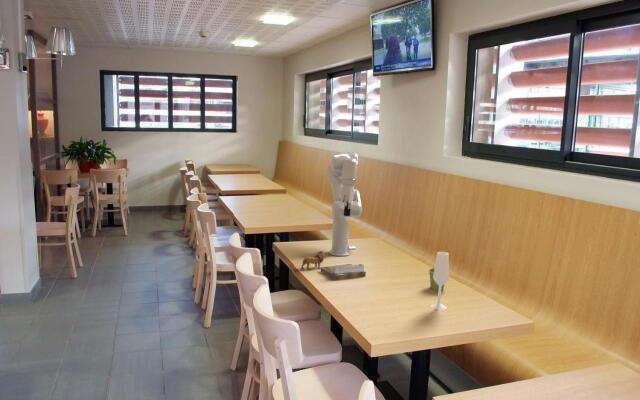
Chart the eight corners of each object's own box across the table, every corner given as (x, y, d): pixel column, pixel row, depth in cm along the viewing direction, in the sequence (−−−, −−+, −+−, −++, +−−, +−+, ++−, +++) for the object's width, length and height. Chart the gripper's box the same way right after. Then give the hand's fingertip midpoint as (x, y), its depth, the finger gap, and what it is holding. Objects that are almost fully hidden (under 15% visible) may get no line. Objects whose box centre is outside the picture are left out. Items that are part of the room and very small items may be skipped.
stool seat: (350, 268, 272) (350, 263, 272) (365, 276, 259) (365, 271, 258) (320, 271, 264) (320, 267, 263) (334, 280, 251) (334, 275, 250)
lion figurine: (320, 265, 275) (321, 249, 274) (326, 268, 271) (327, 251, 269) (297, 269, 267) (298, 252, 265) (303, 272, 262) (304, 255, 261)
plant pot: (448, 286, 248) (449, 269, 246) (446, 292, 239) (447, 275, 238) (428, 284, 251) (429, 267, 249) (426, 289, 242) (427, 272, 241)
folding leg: (361, 269, 260) (362, 264, 260) (364, 271, 258) (364, 265, 258) (332, 272, 254) (333, 266, 254) (334, 273, 252) (335, 267, 252)
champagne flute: (449, 309, 218) (454, 255, 214) (435, 310, 216) (439, 255, 212) (441, 303, 224) (445, 250, 220) (427, 304, 222) (431, 251, 218)
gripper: (345, 180, 280) (343, 212, 283) (338, 183, 266) (336, 217, 269) (358, 181, 278) (357, 214, 281) (351, 184, 264) (350, 218, 267)
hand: (347, 215), depth 275 cm, fingers closed
